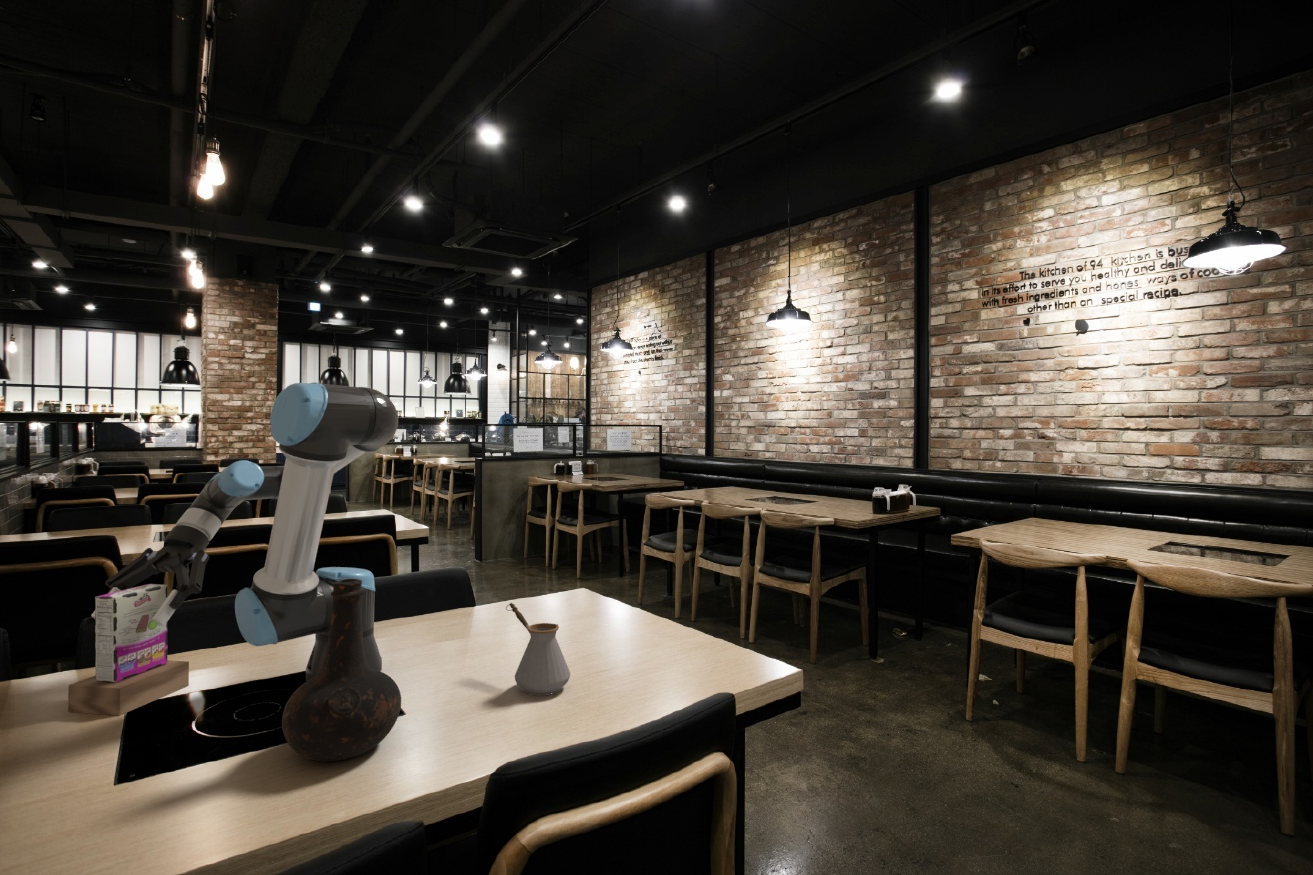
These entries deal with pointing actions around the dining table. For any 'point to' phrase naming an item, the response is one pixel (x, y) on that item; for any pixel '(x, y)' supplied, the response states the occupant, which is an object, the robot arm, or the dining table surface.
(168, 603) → the robot arm
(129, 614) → the candy bar box
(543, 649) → the coffee pot
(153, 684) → the walnut plinth
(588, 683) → the dining table surface
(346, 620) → the brown bottle vase
